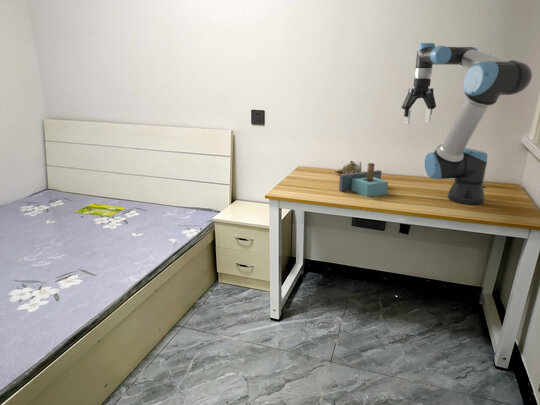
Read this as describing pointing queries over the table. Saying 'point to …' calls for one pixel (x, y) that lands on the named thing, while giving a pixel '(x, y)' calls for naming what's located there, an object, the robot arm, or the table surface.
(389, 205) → the table surface
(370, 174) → the dowel
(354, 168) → the ceramic sculpture
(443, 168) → the robot arm
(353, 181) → the block
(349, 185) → the backstop
